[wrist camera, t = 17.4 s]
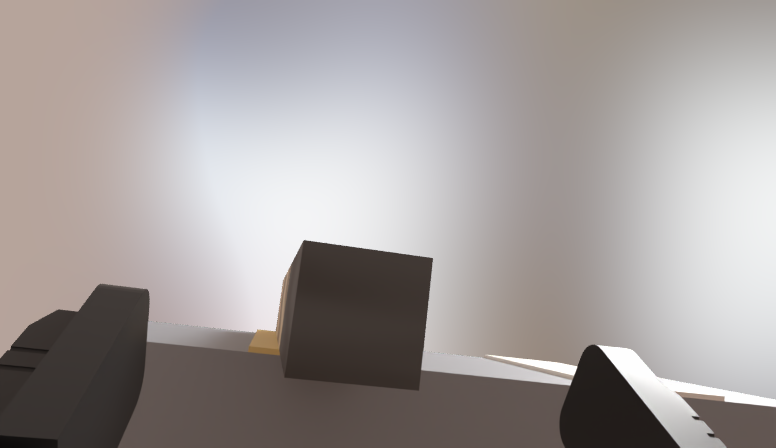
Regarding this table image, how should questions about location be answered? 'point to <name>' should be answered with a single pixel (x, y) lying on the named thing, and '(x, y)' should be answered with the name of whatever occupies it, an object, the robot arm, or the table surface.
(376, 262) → the dark brown square bar
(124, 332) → the robot arm
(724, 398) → the cabinet
